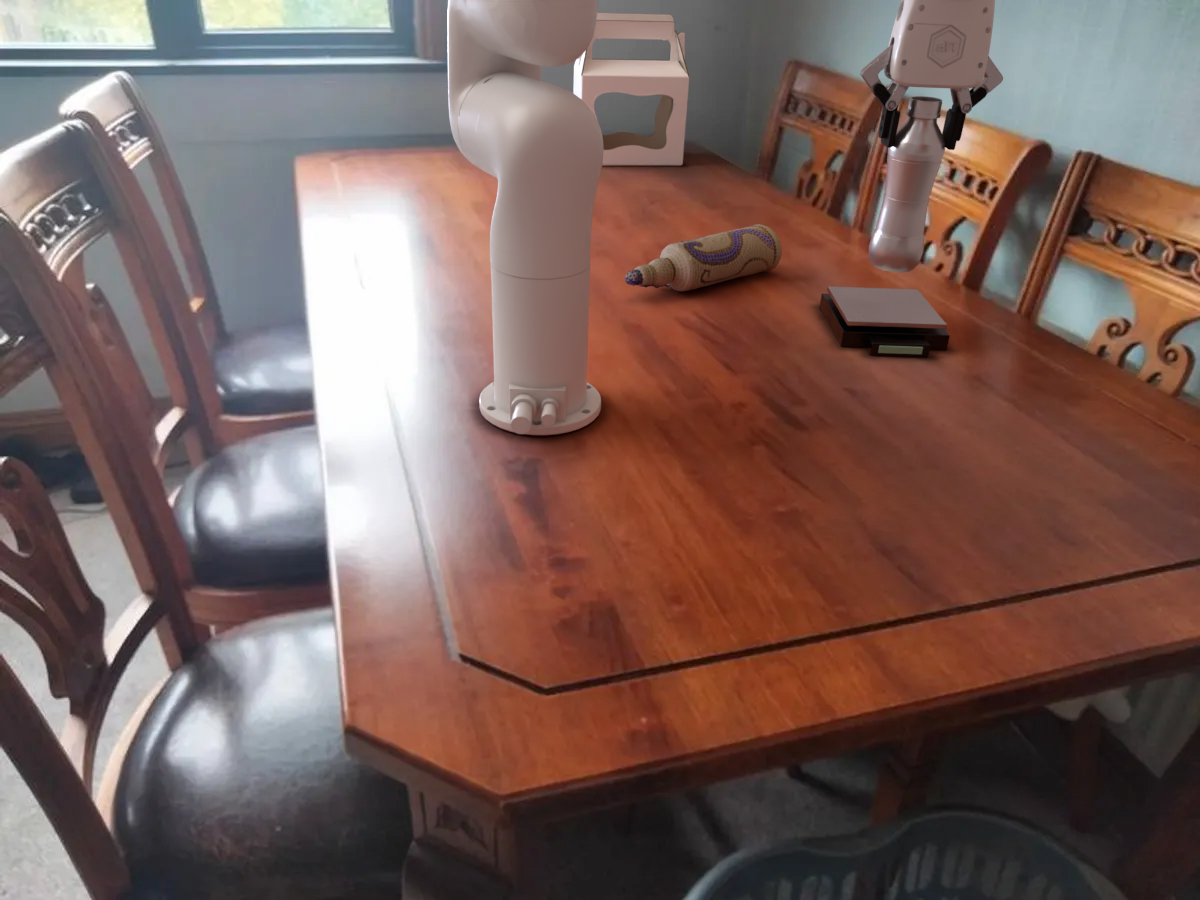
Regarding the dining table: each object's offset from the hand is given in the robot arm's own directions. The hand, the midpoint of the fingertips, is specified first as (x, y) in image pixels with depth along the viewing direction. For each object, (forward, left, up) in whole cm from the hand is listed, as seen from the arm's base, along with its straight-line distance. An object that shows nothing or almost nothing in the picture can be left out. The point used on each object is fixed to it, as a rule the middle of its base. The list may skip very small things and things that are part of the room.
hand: (917, 144), depth 105 cm
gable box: (+90, +31, -23) cm, 98 cm away
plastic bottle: (0, 0, -15) cm, 15 cm away
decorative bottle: (+15, +22, -23) cm, 35 cm away
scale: (-1, 0, -23) cm, 23 cm away
